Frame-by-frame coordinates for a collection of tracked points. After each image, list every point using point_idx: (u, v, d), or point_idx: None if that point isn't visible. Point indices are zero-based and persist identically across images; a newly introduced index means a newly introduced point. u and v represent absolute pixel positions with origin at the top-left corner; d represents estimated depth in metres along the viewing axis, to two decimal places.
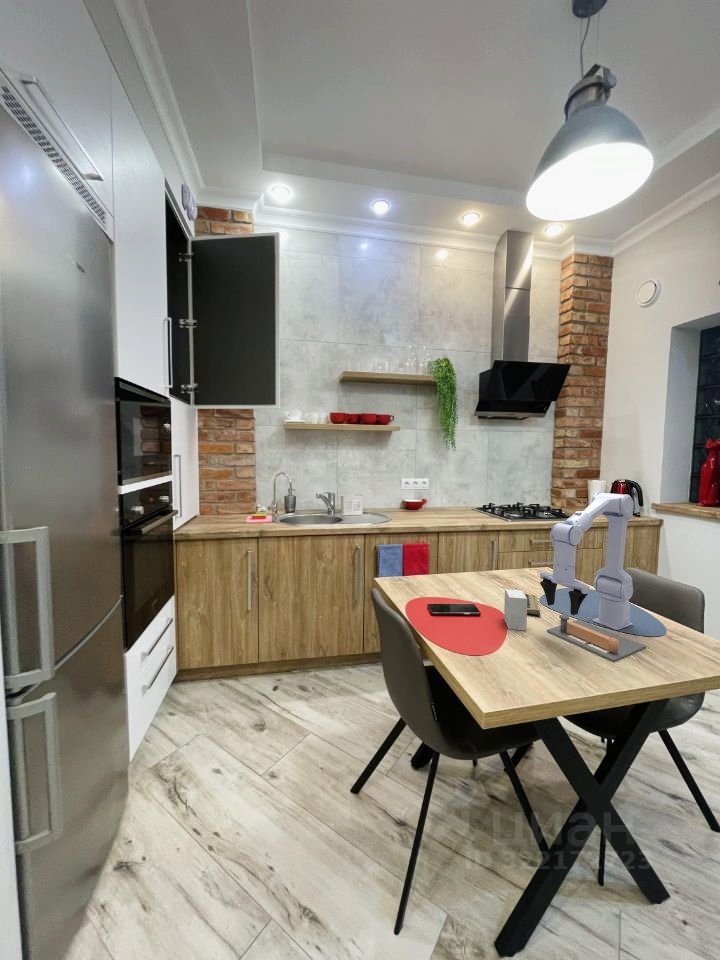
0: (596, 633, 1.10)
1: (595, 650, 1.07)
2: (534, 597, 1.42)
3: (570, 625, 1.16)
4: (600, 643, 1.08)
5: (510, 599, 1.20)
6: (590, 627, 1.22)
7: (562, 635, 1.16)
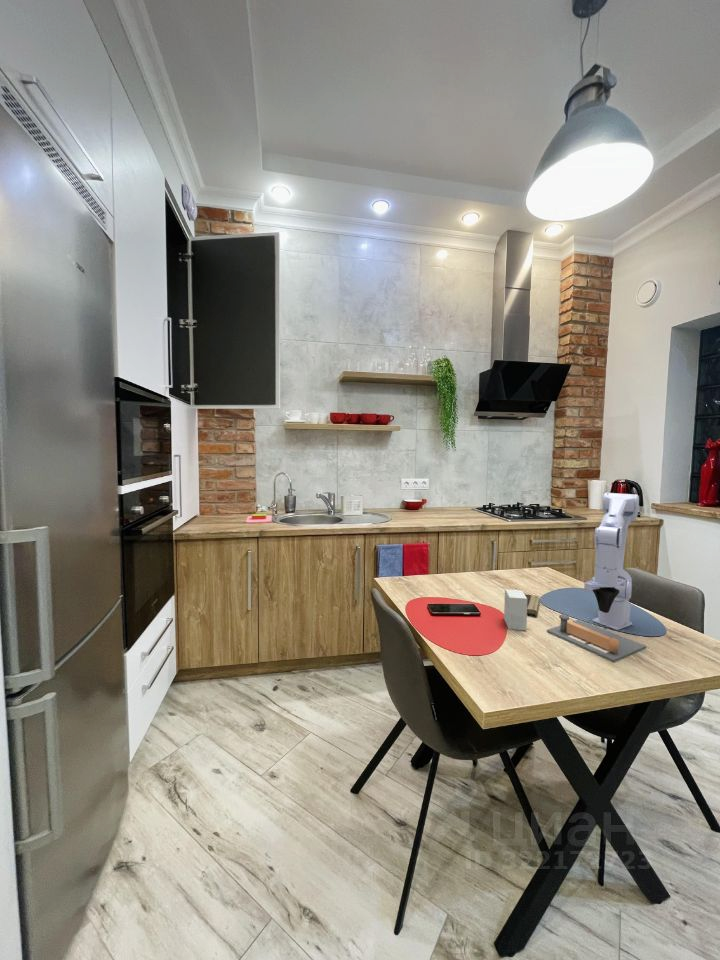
0: (596, 633, 1.10)
1: (595, 650, 1.07)
2: (536, 598, 1.42)
3: (570, 625, 1.16)
4: (600, 643, 1.08)
5: (510, 599, 1.20)
6: (590, 627, 1.22)
7: (562, 635, 1.16)
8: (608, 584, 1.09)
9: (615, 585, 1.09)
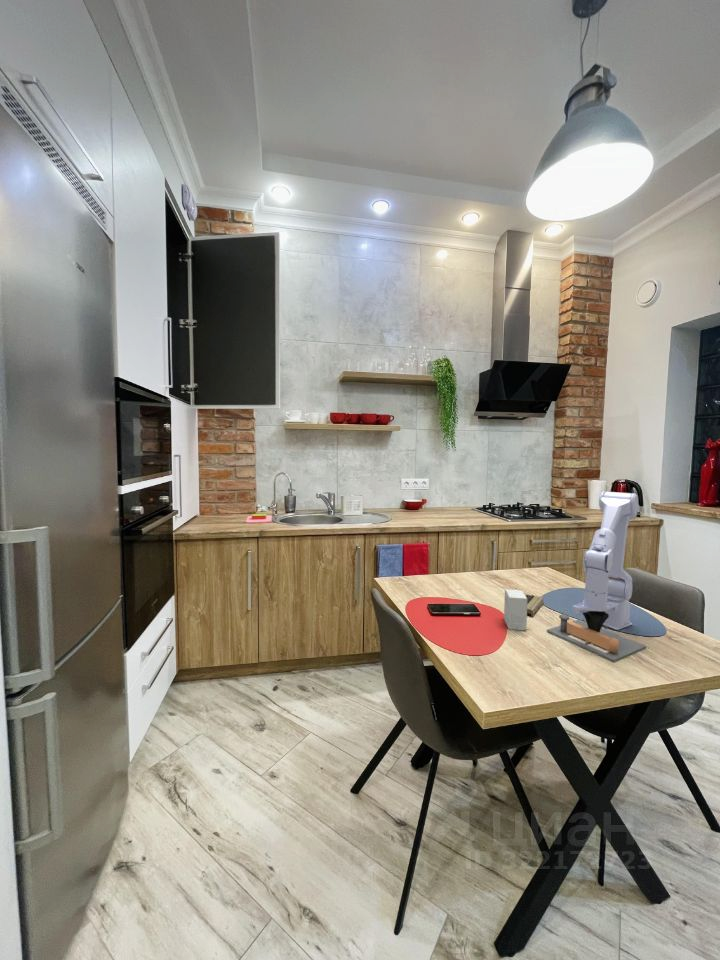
0: (596, 633, 1.10)
1: (595, 650, 1.07)
2: (538, 599, 1.41)
3: (570, 625, 1.16)
4: (600, 643, 1.08)
5: (510, 599, 1.20)
6: None
7: (562, 635, 1.16)
8: (596, 608, 1.10)
9: (604, 609, 1.10)
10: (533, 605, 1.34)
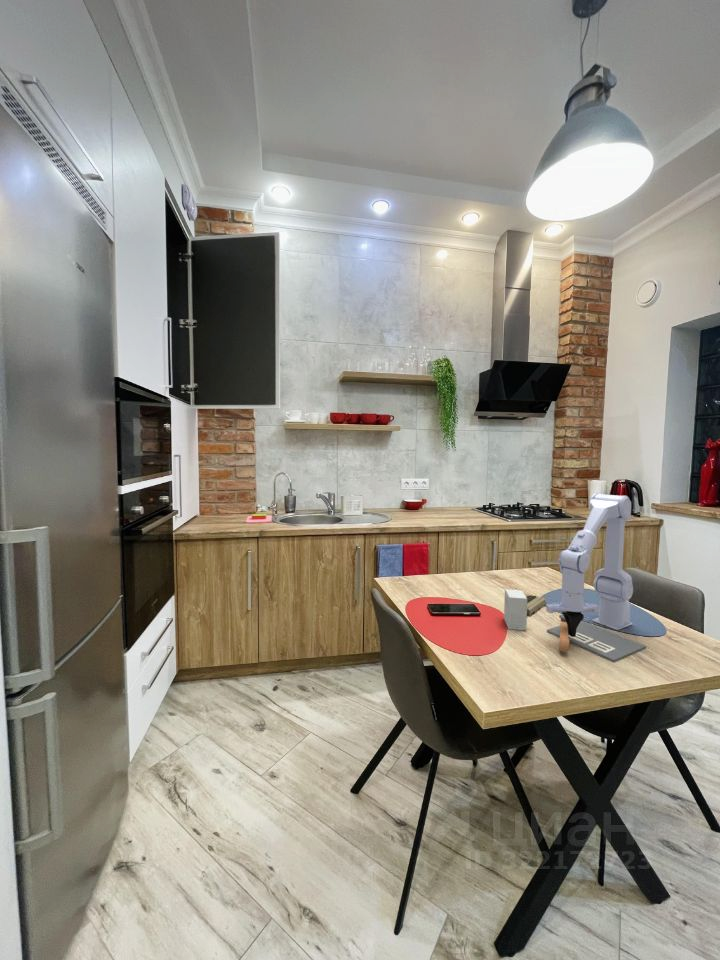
0: (563, 632, 1.10)
1: (595, 650, 1.07)
2: (540, 599, 1.40)
3: (560, 624, 1.17)
4: None
5: (510, 599, 1.20)
6: (590, 627, 1.22)
7: None
8: (570, 608, 1.10)
9: (578, 610, 1.09)
10: (532, 605, 1.34)
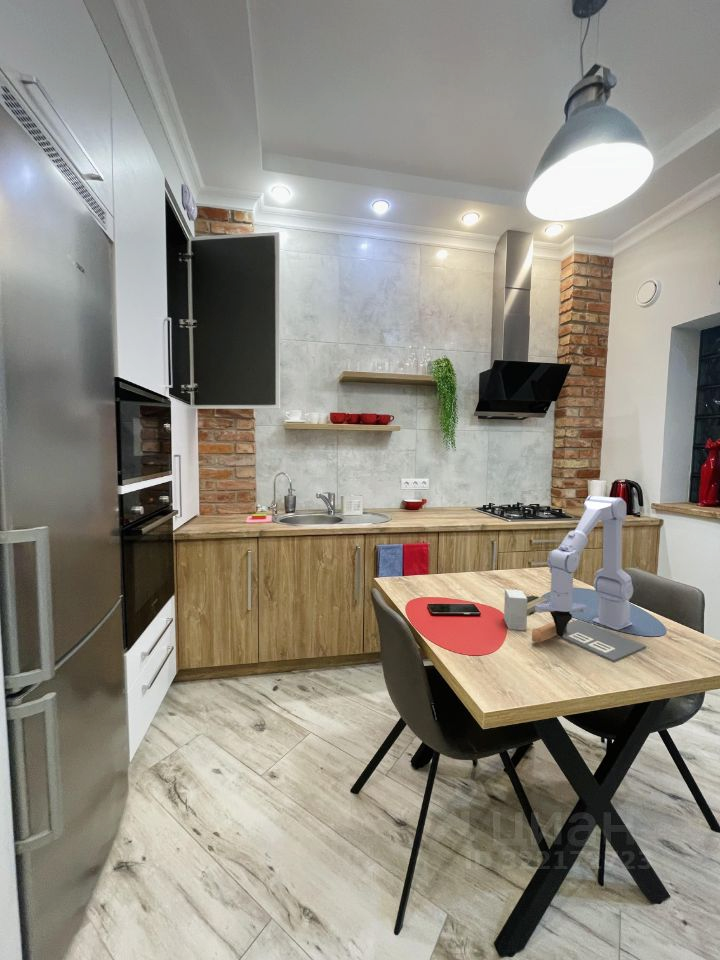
0: (545, 627, 1.13)
1: (595, 650, 1.07)
2: (541, 600, 1.40)
3: None
4: None
5: (510, 599, 1.20)
6: (590, 627, 1.22)
7: None
8: (558, 608, 1.10)
9: (566, 610, 1.09)
10: (530, 605, 1.34)
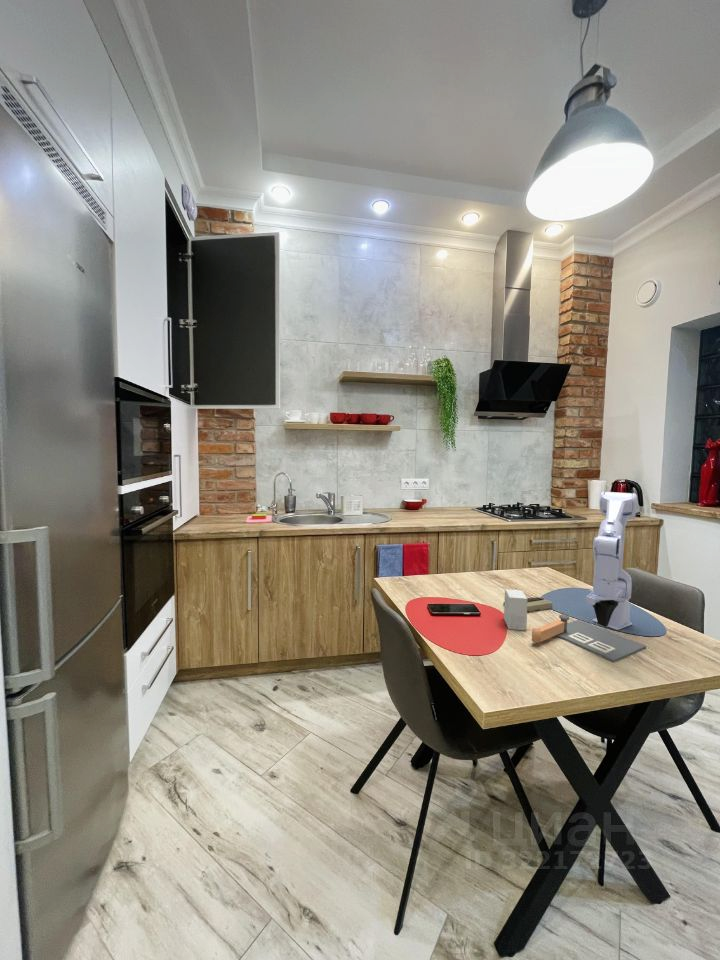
0: (544, 627, 1.13)
1: (595, 650, 1.07)
2: (544, 602, 1.38)
3: None
4: None
5: (510, 599, 1.20)
6: (590, 627, 1.22)
7: (562, 635, 1.16)
8: (609, 597, 1.05)
9: (615, 597, 1.05)
10: (527, 604, 1.35)
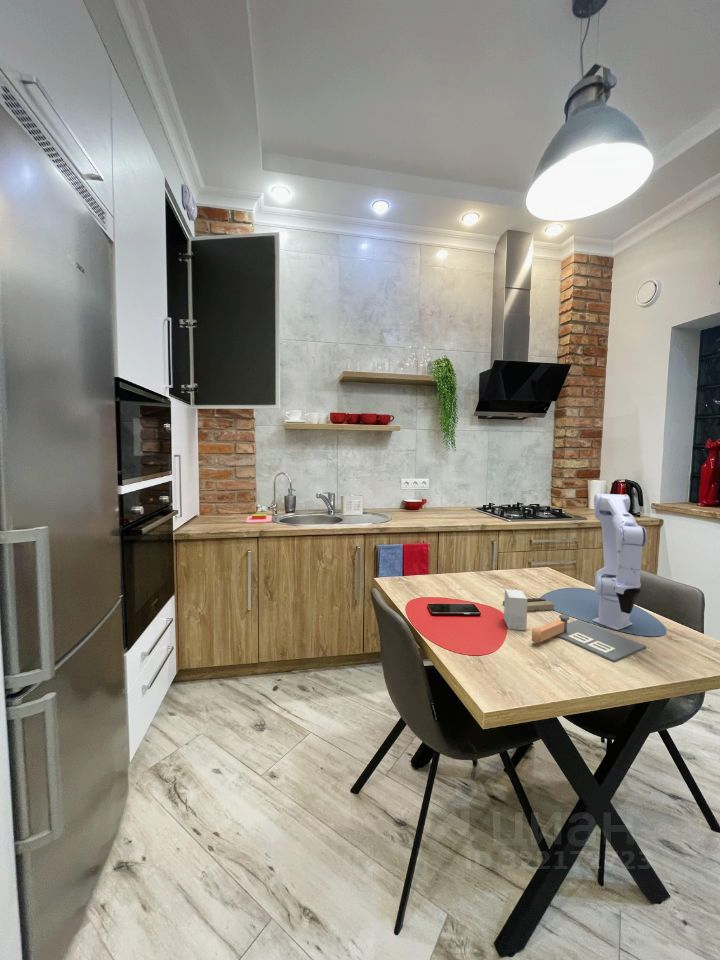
0: (544, 627, 1.13)
1: (595, 650, 1.07)
2: (545, 603, 1.37)
3: None
4: None
5: (510, 599, 1.20)
6: (590, 627, 1.22)
7: (562, 635, 1.16)
8: (635, 585, 1.08)
9: (640, 585, 1.08)
10: None
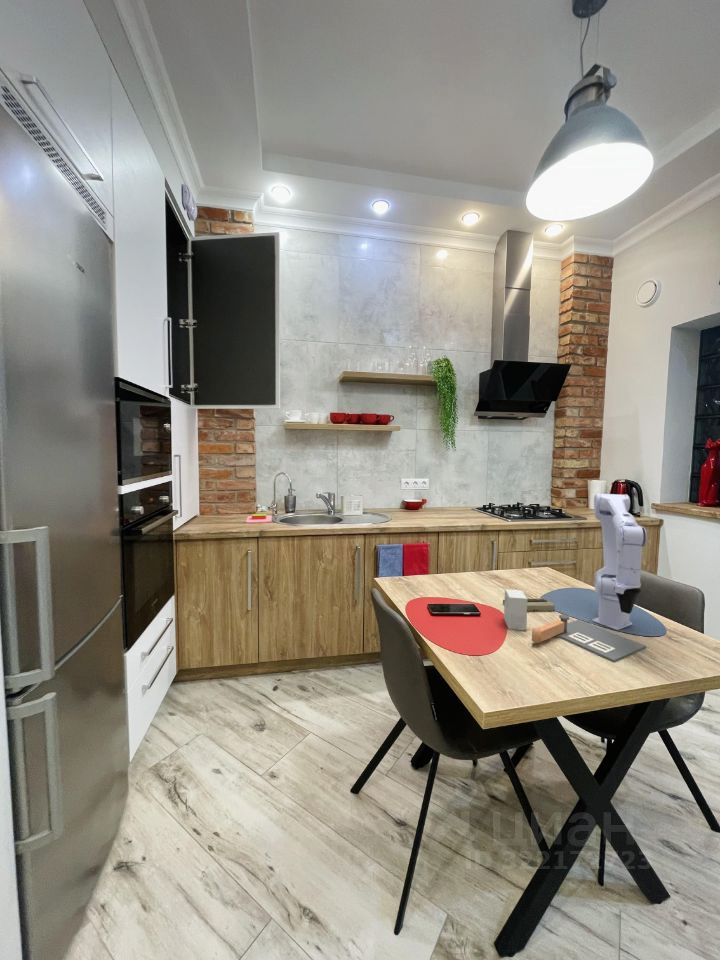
0: (544, 627, 1.13)
1: (595, 650, 1.07)
2: (545, 603, 1.36)
3: None
4: None
5: (510, 599, 1.20)
6: (590, 627, 1.22)
7: (562, 635, 1.16)
8: (635, 585, 1.08)
9: (640, 585, 1.08)
10: None
